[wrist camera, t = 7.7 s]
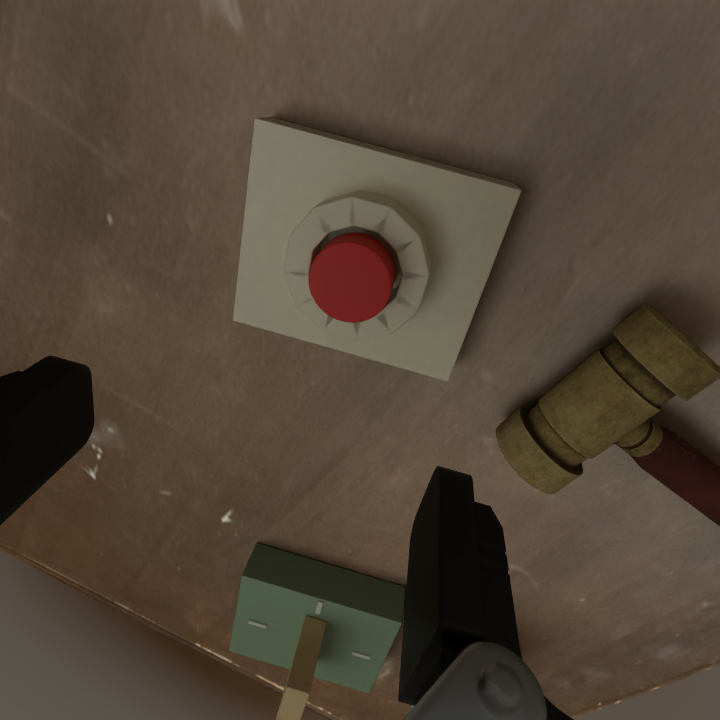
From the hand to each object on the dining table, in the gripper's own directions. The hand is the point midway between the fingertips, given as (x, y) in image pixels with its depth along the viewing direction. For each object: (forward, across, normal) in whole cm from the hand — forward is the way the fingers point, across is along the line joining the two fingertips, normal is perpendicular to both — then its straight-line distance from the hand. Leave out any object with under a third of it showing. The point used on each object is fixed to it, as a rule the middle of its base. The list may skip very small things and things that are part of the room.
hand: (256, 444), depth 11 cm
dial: (+13, -3, +29) cm, 32 cm away
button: (+13, 0, 0) cm, 13 cm away
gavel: (+16, -21, +7) cm, 28 cm away
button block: (+16, 0, 0) cm, 16 cm away
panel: (+16, -3, +30) cm, 34 cm away
